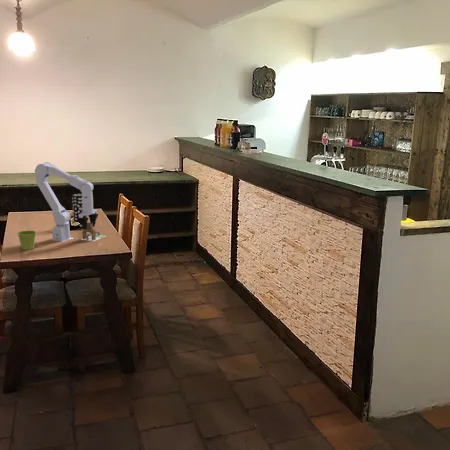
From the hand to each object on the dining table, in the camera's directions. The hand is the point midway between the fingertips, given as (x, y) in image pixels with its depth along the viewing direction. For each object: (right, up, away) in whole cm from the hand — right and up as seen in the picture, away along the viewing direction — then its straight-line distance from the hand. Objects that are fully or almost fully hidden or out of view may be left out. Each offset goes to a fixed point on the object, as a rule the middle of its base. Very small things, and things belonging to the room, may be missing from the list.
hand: (88, 227), depth 289 cm
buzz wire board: (+1, -6, +5) cm, 8 cm away
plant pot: (-27, -11, -17) cm, 34 cm away
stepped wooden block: (0, -6, +2) cm, 7 cm away
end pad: (+3, -5, +9) cm, 11 cm away
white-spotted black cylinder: (-14, 0, +33) cm, 36 cm away
